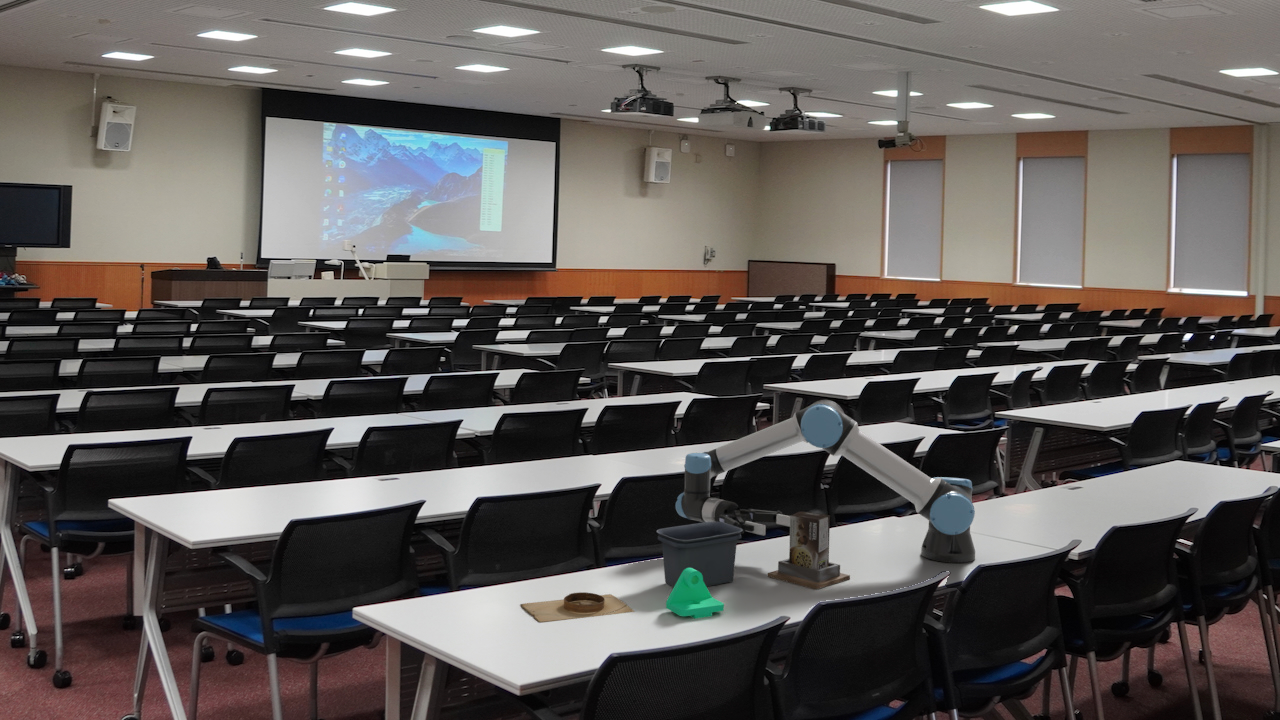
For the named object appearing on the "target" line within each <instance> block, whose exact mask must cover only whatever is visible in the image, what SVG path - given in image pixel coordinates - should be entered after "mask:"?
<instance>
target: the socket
mask: <svg viewBox="0 0 1280 720" xmlns="http://www.w3.org/2000/svg"><path fill="white" fill-rule="evenodd" d="M777 565H778V567H777V570H773V571H769V572H767V577H769V578H771V579H776V580H779V581H783V582H786V583H790V584H792V585H797V586H801V587H804V588H809V589H812V590H819V589H822V588H825V587H829V586H832V585H835V584H838V583H841V582H845V581H847V580H850V579H851V575H850V574H846V573H842V572H841V564H838V563H833V562H831V561H829V567H826V568H822V569H819V570H815V569H811V568H807V567H803V566H799V565H795V564H791V563H789V558H785V559H782V560H779V561H778V563H777Z"/></svg>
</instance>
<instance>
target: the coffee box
mask: <svg viewBox="0 0 1280 720" xmlns="http://www.w3.org/2000/svg"><path fill="white" fill-rule="evenodd" d="M789 516H790V527H789V557H788V559H789V563H791V564H795V565H799V566H803V567H807V568H811V569H815V570H819V569H822V568H826V567H829V562H830V561H829V560H830V529H831V528H830V525H831V524H830V523H831V515H828V514H823V513H815V512H808V511H803V510H800V511H798V512H795V513H794V514H791V515H790V514H789Z"/></svg>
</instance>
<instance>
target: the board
mask: <svg viewBox="0 0 1280 720" xmlns="http://www.w3.org/2000/svg"><path fill="white" fill-rule="evenodd" d="M519 606H520V608H521V609H522V610H524V611H525V612H526V613H528V615H530V616H531V617H532V618H533V619H534V620H536V622H537V623H539V624H541V623H551V622H557V621H566V620H567V621H568V620H577V619H586V618H592V617H593V618H594V617H601V616H602V617H603V616H609V615H618V614H619V615H620V614H626V613H634V612H635V610H633V608H631V607H630V606H629V605H628V604H626V603H625V602H624V601H622V600H621V599H619V598H618V597H616V595H615V596H614V595H613V594H611V593H609V594H601V595H600V594H597V593H592V592H581V591H579V592H573V593H569V594H566V596H564V597H563V599H556V600H555V599H554V600H547V601H546V600H545V601H537V602H535V601H534V602H528V603H526V602H525V603H520V604H519Z"/></svg>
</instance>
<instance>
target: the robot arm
mask: <svg viewBox="0 0 1280 720" xmlns="http://www.w3.org/2000/svg"><path fill="white" fill-rule="evenodd" d="M802 442H803V443H807V444H808V443H809V444H810V445H811V446H813V447H815V448H820V449H822V450H824V451H825V452H826V453H828V454H830V455H831V456H833V457H838V456H842V457H844V458H846V459H847V460H848V461H850V462H852V463H853V464H854V465H856V466H857V467H858V468H860V469H862V470H863V471H865V472H866V473H867V474H869V475H871V477H874V478H875V479H877V480H878V481H880V482H881V483H882V484H883V485H886V486H887V487H889V488H890V489H892V491H894V492H896V493H897V494H899V495H900V496H902V497H903V498H905V499H906V500H907V501H909V502H911V503H912V504H913V505H914V507H915V508H914V509H915V511H916V513H917V514H919V515H920V516H922V517H923V518H925V519H926V520H927V521H928V527H927V528H928V529H927V531H926V534H925V537H924V540H923V542H922V544H921V547H920V548H921V550H920V552H921V553H920V554H921V556H922V557H924V558H926V559H929V560H931V561H935V562H936V561H937V562H943V563H956V564H957V563H969V562H973V561H974V560H975V559H976V549H975V545H974V541H973V537H972V534H971V525H972V524H973V521H974V518H975V516H976V515H975V514H976V513H975V507H974V504H973V499H972V497H973V496H972V495H973V489H974V488H973V482H972V480H970V479H967V478H959V477H946V476H945V477H942V476H940V477H939V476H937V477H935V476H934V477H931V476H928V475H927V474H925V473H924V472H923V471H921V470H919V469H918V468H916V467H915V466H914V465H912V464H910V463H909V462H907V460H904V459H903V458H902V457H900V456H899V455H897V454H896V453H894V452H893V451H891V450H889V449H888V448H886V447H885V446H883V445H882V444H880V443H879V442H877V441H876V440H875V439H873V438H871V437H870V436H869V435H867V434H865V432H862V431H861V430H860V429H859V424H858V422H857V421H856V420H854V419H853V418H852V417H850V416H849V415H847V414H845V412H844V410H843V409H842V407H841V405H839V404H838V403H836V402H835V401H833V400H830V399H820V400H817V401H815V402H813V403H812V404H810V405H809V406H806V407H805V408H803V409H801V410H798V411H795V412H794V414H793V416H792V417H791V418H788V419H785V420H783V421H781V422H778V423H776V424H773V425H771V426H768V427H766V428H763V429H761V430H758V431H756V432H753V433H751V434H748V435H746V436H743V437H741V438H739V439H735V440H733V441H732V442H728V443H726V444H724V445H721V446H718V447H717V448H715V449H712V450H709V451H704V452H703V451H702V452H690V453H688V454H686V455H685V459H684V490H683V492H681V493H680V494H679V495H678V496H677V500H676V502H675V510H676V512H677V514H678V515H679V516H680V517H682V518H685V519H688V520H691V521H696V522H699V523H704V522H724V523H727V524H730V525H733V526H736V527H738V528H741V529H742V530H743V531H742V532H740V534H741V535H742V534H745V532H748V533H752V534H756V535H759V536H766V530H767V529H766V527H767V526H766V524H761V523H776V525H781V526H784V527H789V528H790V515H785V514H783V512H782V511H780V510H777V511H774V510H773V511H772V510H763V509H762V510H761V509H753V508H748V509H744V508H742V509H741V508H740V507H739V505H738V504H737V503H736V502H733V501H729V500H724V499H720V498H716V497H711V496H710V494H711V479H712V478H713V477H716V476H719V475H721V474H723V473H725V472H728V471H730V470H732V469H735V468H738V467H740V466H743V465H745V464H748V463H751V462H753V461H756V460H759V459H761V458H763V457H766V456H769V455H771V454H774V453H777V452H779V451H781V450H783V449H786V448H788V447H792V446H793V445H796V444H799V443H802ZM759 522H760V523H759Z"/></svg>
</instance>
